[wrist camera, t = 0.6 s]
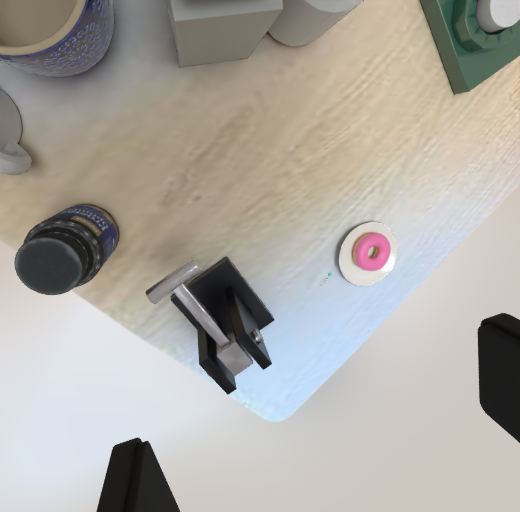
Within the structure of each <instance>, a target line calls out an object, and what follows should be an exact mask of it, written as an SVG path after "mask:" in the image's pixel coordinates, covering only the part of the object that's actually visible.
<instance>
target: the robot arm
mask: <svg viewBox="0 0 520 512" xmlns="http://www.w3.org/2000/svg"><path fill="white" fill-rule="evenodd" d="M478 358H479V397H480V404H481V406H482V408H483V410H484V411H485V413H486V414H487V415H489V416H490V417H491V418H492V419H493V420H494V421H495V422H497V423H498V424H499V425H500V426H501V427H502V428H503V429H505V430H506V431H507V432H508V433H509V434H510V435H511V436H513V437H514V438H515V439H516V440H517V441H518V442H519V443H520V320H519V319H517V318H515V317H513V316H511V315H509V314H506V313H501V314H498V315H495V316H493V317H489V318H486V319H484V320H483V321H482V322H481V326H480V327H479V328H478ZM97 512H180V510H179V508H178V505H177V503H176V501H175V499H174V496H173V494H172V492H171V490H170V487H169V485H168V483H167V481H166V478H165V476H164V474H163V472H162V469H161V467H160V465H159V463H158V461H157V458H156V456H155V454H154V452H153V449H152V447H151V445H150V443H149V442H148V441H145V442H142V441H141V439H140V438H135V439H132V440H129V441H126V442H123V443H120V444H117V445H115V446H114V447H113V450H112V453H111V457H110V461H109V465H108V469H107V473H106V476H105V480H104V484H103V488H102V492H101V496H100V500H99V504H98V508H97Z"/></svg>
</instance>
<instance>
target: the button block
mask: <svg viewBox="0 0 520 512" xmlns="http://www.w3.org/2000/svg"><path fill="white" fill-rule="evenodd" d="M420 1H421V4H422V7H423V10H424V12H425V15H426V18H427V21H428V23H429V26H430V29H431V31H432V34H433V37H434V40H435V42H436V45H437V48H438V51H439V53H440V56H441V59H442V62H443V64H444V67H445V70H446V73H447V75H448V78H449V81H450V83H451V86H452V89H453V92H454V94H459V93H464V92H469V91H470V90H472V89H473V88H475V87H476V86H477V85H479V84H480V83H482V82H483V81H484V80H486V79H487V78H489V77H490V76H492V75H493V74H494V73H496V72H497V71H499V70H500V69H501V68H503V67H504V66H506V65H507V64H508V63H510V62H511V61H513V60H514V59H515V58H517V57H518V56H520V19H519V20H518V21H517V22H516V23H515V24H514V25H512V26H510V27H507V28H504V29H502V30H499V31H496V32H492V33H490V32H486V31H484V30H482V29H481V28H480V26H479V25H478V22H477V19H476V7H477V3H478V0H420Z"/></svg>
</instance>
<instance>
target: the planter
mask: <svg viewBox="0 0 520 512" xmlns="http://www.w3.org/2000/svg"><path fill="white" fill-rule="evenodd" d="M113 29H114V7H113V1H112V0H0V62H3V63H6V64H8V65H11V66H13V67H16V68H18V69H21V70H24V71H28V72H31V73H35V74H39V75H44V76H50V77H67V76H72V75H76V74H80V73H82V72H85V71H87V70H88V69H90V68H92V67H93V66H94V65H95V64H97V63H98V62H99V61H100V59H101V58H102V57H103V56H104V54H105V53H106V51H107V49H108V47H109V45H110V42H111V39H112V35H113Z"/></svg>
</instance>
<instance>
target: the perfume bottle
mask: <svg viewBox="0 0 520 512" xmlns="http://www.w3.org/2000/svg"><path fill="white" fill-rule="evenodd" d="M166 2H167V7H168V12H169V17H170V22H171V27H172V31H173V36H174V41H175V46H176V51H177V55H178V60H179V65H180V67H187V66H194V65H202V64H209V63H216V62H224V61H231V60H239V59H246V58H249V56H250V55H251V53H252V52H253V51H254V49H255V48H256V46H257V45H258V44H259V42H260V41H261V39H262V38H263V37H264V35H265V34H266V32H267V31H268V29H269V28H270V27H271V25H272V24H273V22H274V21H275V20H276V18H277V17H278V15H279V14H280V13H281V11H282V10H283V3H282V0H166Z"/></svg>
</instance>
